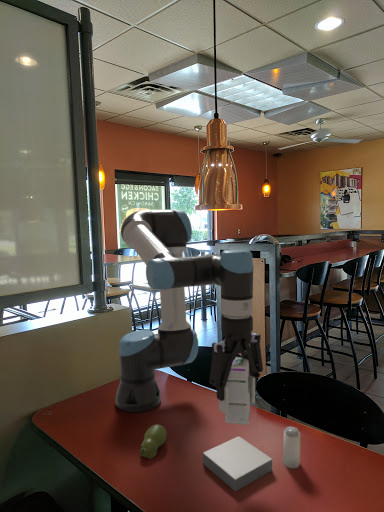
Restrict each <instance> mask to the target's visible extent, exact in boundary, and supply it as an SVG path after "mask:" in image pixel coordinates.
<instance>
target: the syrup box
mask: <svg viewBox="0 0 384 512" xmlns="http://www.w3.org/2000/svg"><path fill="white" fill-rule="evenodd" d="M226 386H227V387H228V393H229V414H227V415H226V414H224V423H226V424H234V425H243V426H249V423H250V418H251V417H250V416H251V402H250V386H249V361H248V360H247V359H245V358H243V357H242V356H236V358H235V360H233V363H232V366H231V370H230V373H229V376H228V380H227V383H226Z"/></svg>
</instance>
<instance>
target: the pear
mask: <svg viewBox="0 0 384 512" xmlns="http://www.w3.org/2000/svg"><path fill="white" fill-rule="evenodd" d="M166 439H167V430H166V429H165V427H164V425H163V426H162V425H161V424H153V425H151V426H150V427H149V428H148V429H147V430H146V431H145V433H144V436H143V441H142V443H141V444H140V450H139V454H140V457H144V458H147V459H149V460H151V459H154V458H155V457H157V456H156V455H157V453H158V448H159V447H161V446H162V445H163V444H164V443H165V442H166Z"/></svg>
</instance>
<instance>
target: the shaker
mask: <svg viewBox="0 0 384 512" xmlns="http://www.w3.org/2000/svg"><path fill="white" fill-rule="evenodd" d="M282 458H283V459H282V460H283V465H284V466H285V467H286V468H289V469H297V468H298V469H299V467H300V464H301V432H300V430H299V429H298V428H297V427H295V426H286V427H285V429H284V431H283V457H282Z"/></svg>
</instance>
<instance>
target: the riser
mask: <svg viewBox="0 0 384 512" xmlns="http://www.w3.org/2000/svg"><path fill="white" fill-rule="evenodd" d="M202 454H203V455H202V456H203V457H202V458H203V459H202V460H203V461H202V464H203V465H204V466H205V467H206V468H208V470H210V472H212V473H213V474H214V475H215V476H217V477H218V478H219V479H220V480H221V481H222V482H224V483H225V484H226V485H227V486H228V487H229V488H230V489H231V490H233V491H234V492H237V491H240V490H241V489H242V488H244V487H246V486H247V485H249V484H251V483H253V482H255V481H256V480H258V479H260V478H261V477H263V476H265V475H267V474H269V473H271V472H272V471H273V458H271V457H270V456H268V455H267V454H265V453H264V452H263V451H261V450H260V449H258V448H256V447H255V446H254V445H253V444H251V443H249V442H248V441H246V439H244V438H242V437H240V435H239V436H236V437H233V438H232V439H230V440H227V441H225V442H223V443H220V444H219V445H217V446H215V447H213V448H210V449H208V450H205V451H204V452H202Z"/></svg>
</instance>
